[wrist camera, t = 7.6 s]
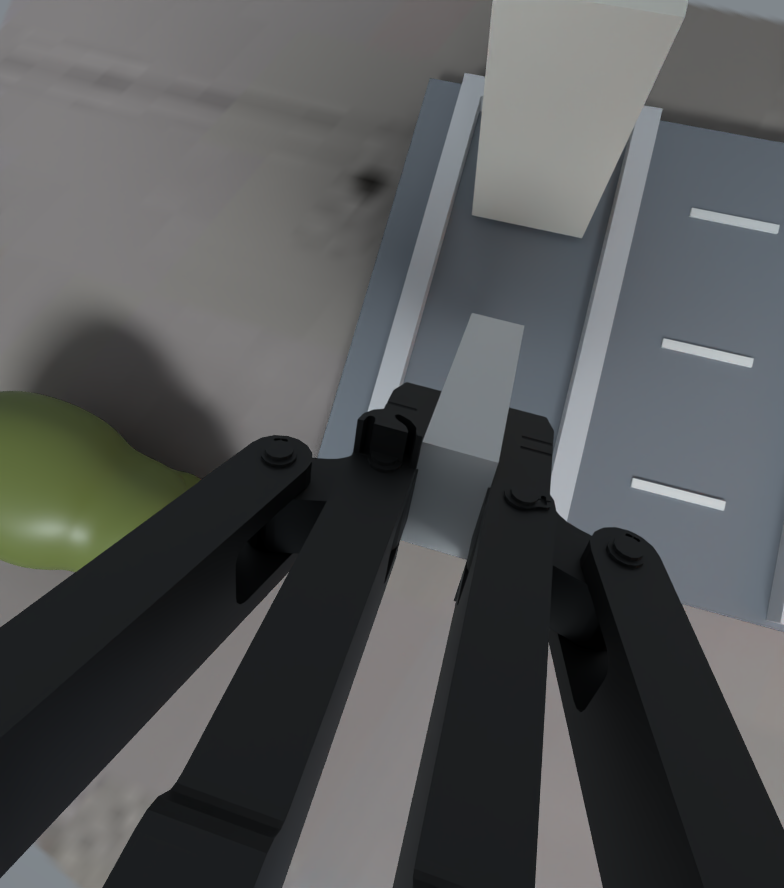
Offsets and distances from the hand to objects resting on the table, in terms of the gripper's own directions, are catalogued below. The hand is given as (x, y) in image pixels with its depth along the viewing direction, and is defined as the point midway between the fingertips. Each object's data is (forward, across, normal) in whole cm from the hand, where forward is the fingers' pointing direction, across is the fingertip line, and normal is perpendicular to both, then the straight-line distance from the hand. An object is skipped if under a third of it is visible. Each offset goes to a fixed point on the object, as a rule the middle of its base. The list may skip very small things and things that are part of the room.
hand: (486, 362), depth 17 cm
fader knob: (+8, 0, +4) cm, 9 cm away
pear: (-1, -12, -9) cm, 15 cm away
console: (+6, +7, -1) cm, 9 cm away
